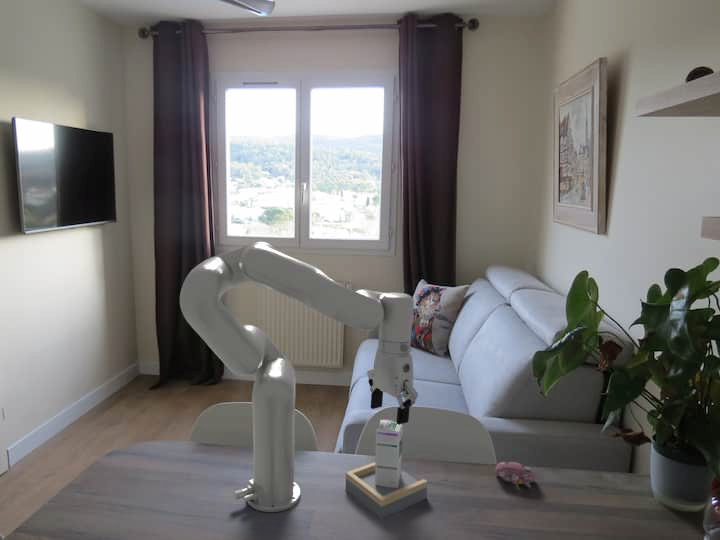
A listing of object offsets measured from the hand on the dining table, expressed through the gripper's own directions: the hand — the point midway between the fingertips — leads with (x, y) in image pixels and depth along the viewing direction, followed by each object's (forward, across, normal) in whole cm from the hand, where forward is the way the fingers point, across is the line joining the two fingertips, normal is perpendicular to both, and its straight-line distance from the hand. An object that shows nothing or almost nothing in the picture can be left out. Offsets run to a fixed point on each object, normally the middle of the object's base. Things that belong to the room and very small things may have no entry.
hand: (388, 415), depth 124 cm
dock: (+20, -1, 0) cm, 20 cm away
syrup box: (+17, 0, -1) cm, 17 cm away
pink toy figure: (+19, -15, -31) cm, 40 cm away
